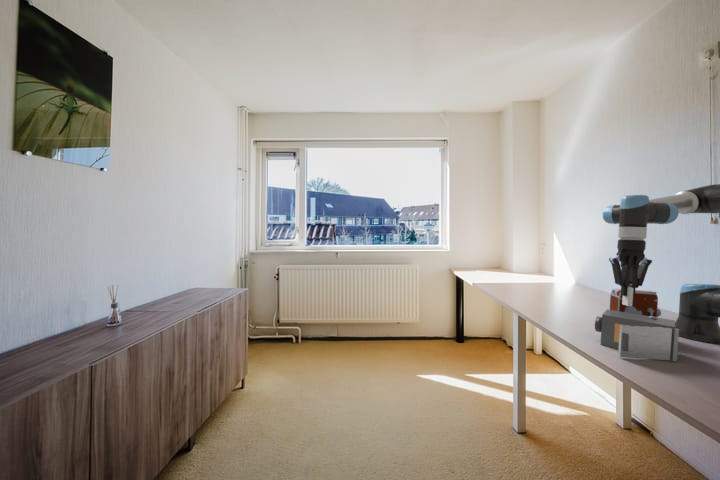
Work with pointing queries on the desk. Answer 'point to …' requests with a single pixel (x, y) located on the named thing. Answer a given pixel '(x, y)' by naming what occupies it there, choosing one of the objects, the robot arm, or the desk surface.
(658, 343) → the side door
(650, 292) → the cine camera
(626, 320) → the grey cabinet with knob
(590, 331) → the desk surface
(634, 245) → the robot arm
